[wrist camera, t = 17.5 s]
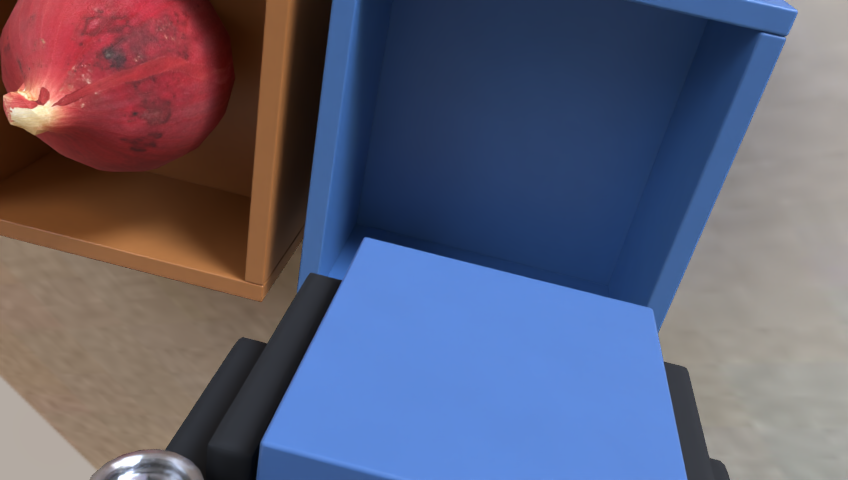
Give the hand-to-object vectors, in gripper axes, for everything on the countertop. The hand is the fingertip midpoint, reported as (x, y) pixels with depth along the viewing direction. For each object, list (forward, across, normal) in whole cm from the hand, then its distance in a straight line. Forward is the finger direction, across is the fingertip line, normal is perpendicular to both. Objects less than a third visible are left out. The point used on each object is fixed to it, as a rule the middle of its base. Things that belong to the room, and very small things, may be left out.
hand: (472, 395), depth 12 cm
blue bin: (+14, 0, 0) cm, 14 cm away
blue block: (0, 0, 0) cm, 0 cm away
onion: (+13, +11, 0) cm, 17 cm away
